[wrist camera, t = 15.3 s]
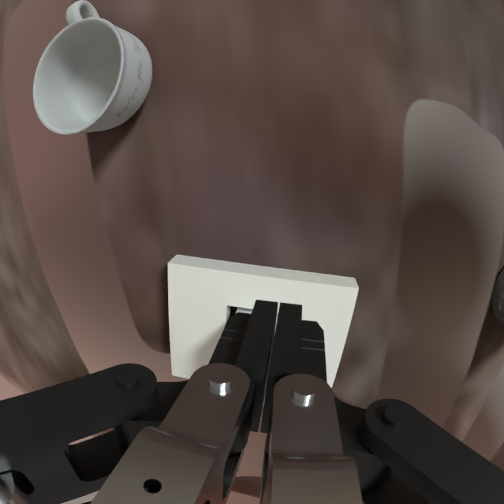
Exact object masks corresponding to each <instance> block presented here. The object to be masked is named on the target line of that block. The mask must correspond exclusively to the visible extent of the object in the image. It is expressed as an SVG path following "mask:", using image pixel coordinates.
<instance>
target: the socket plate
mask: <svg viewBox="0 0 504 504" xmlns="http://www.w3.org/2000/svg"><path fill="white" fill-rule="evenodd" d="M358 290H359V287H358V285H357V282H356V280H355V278H352V277H344V276H336V275H328V274H320V273H312V272H304V271H296V270H288V269H281V268H273V267H265V266H258V265H250V264H243V263H235V262H228V261H220V260H213V259H205V258H198V257H191V256H184V255H176V256H175V257H174V258H173V259H171V260H170V261H169V262H168V305H169V332H170V352H171V368H172V375H173V376H178V377H182V378H187V379H190V377H191V376H192V374H193V373H194V372H195V371H196V370H197V369H198V368H200V367H202V366H204V365H208V363H209V361H210V359H211V357H212V354H213V352H214V350H215V348H216V345H217V343H218V341H219V339H220V337H221V334H222V332H223V330H224V327H225V325H226V323H227V320H228V319H229V318H230V314H231V306H235V307H241V308H248V309H253V307H254V304H255V301H256V300H265V301H273V302H278V310H277V313H278V312H279V306H280V302H282V303H291V304H300V305H302V320H309V321H317V322H318V324H319V325H320V326H321V328H322V329H323V330H324V343H325V355H326V372H327V383H328V384H329V386H330V387H331V388H332V385H333V382H334V379H335V376H336V372H337V369H338V366H339V362H340V359H341V355H342V352H343V348H344V345H345V341H346V337H347V334H348V330H349V326H350V322H351V318H352V315H353V311H354V306H355V302H356V298H357V294H358Z"/></svg>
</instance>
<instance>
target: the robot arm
mask: <svg viewBox="0 0 504 504" xmlns="http://www.w3.org/2000/svg"><path fill="white" fill-rule="evenodd" d="M492 309H493V312H494V315H495V316H496V318H497V319H498V320H499V321H500V322H501V323H502V324H503V326H504V269H503V270H502V271H501V273H500V275H499V277H498V279H497V281H496V284H495V286H494V290H493V294H492ZM277 310H278V302H273V301H265V300H256V301H255V304H254V307H253V310H252V313H251V314H249V313H242V312H237V313H236V314H234V315H233V316H232V317H230V318H229V319H228V320H227V323H226V325H225V327H224V330H223V332H222V334H221V337H220V339H219V341H218V343H217V345H216V348H215V350H214V352H213V354H212V357H211V359H210V361H209V363H208V365H204V366H202V367H200V368H198V369H197V370H196V371H195V372H194V373H193V374H192V376H191V377H190V379H189V380H187V381H182V382H157V379H156V376H155V374H154V373H153V372H152V371H151V370H150V369H149V368H147V367H145V366H142V365H139V364H131V363H129V364H120V365H117V366H114V367H111V368H108V369H105V370H102V371H99V372H95V373H92V374H89V375H86V376H83V377H80V378H77V379H74V380H70V381H67V382H64V383H61V384H57V385H54V386H51V387H47V388H44V389H41V390H37V391H34V392H30V393H27V394H23V395H19V396H16V397H12V398H8V399H5V400H1V401H0V504H61V503H64V502H67V501H70V500H73V499H76V498H79V497H82V496H85V495H87V494H90V493H93V492H96V491H98V490H99V492H98V493H97V495H96V496H95V498H94V499H93V500H92V501H90V502H86V503H82V504H226V502H227V499H228V496H229V493H230V491H231V488H232V485H233V483H234V480H235V477H236V474H237V471H238V468H239V465H240V462H241V459H242V457H243V453H244V448H245V446H246V444H247V441H248V436H249V432H250V431H254V432H258V428H259V423H260V418H261V413H262V408H263V402H264V408H263V416H262V423H261V432H262V433H267V437H266V443H265V449H264V455H263V466H262V479H261V492H260V504H504V471H503V470H501V469H500V468H498V467H497V466H495V465H494V464H492V463H491V462H489V461H488V460H487V459H485V458H484V457H482V456H481V455H479V454H478V453H477V452H475V451H474V450H472V449H471V448H469V447H468V446H467V445H465V444H463V443H462V442H461V441H459V440H458V439H457V438H455V437H454V436H452V435H451V434H450V433H448V432H447V431H445V430H444V429H443V428H441V427H440V426H438V425H437V424H436V423H434V422H433V421H431V420H430V419H429V418H427V417H426V416H425V415H423V414H422V413H420V412H419V411H418V410H416V409H415V408H414V407H412V406H411V405H409V404H407V403H405V402H403V401H400V400H396V399H381V400H378V401H376V402H374V403H372V404H371V405H370V406H369V407H368V408H367V410H366V409H362V408H359V407H355V406H352V405H349V404H346V403H344V402H342V401H341V400H339V399H338V398H336V397H335V396H334V395H333V391H332V389H331V387H330V386H329V384H328V383H327V372H326V355H325V343H324V330H323V329H322V328H321V326H320V325H319V324H318V322H317V321H309V320H302V305H300V304H291V303H282V302H280V306H279V312H278V318H277ZM276 319H277V324H276ZM275 327H276V330H275ZM265 392H266V393H265ZM264 397H265V400H264ZM112 427H113V429H114V430H113V431H111V432H108V433H105V434H103V435H100V436H97V437H94V438H92V439H89V440H86V441H83V442H80V443H78V444H74V445H68V444H69V443H71V442H73V441H76V440H79V439H82V438H85V437H88V436H91V435H93V434H96V433H99V432H102V431H104V430H107V429H110V428H112Z"/></svg>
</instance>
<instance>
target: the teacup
mask: <svg viewBox="0 0 504 504" xmlns="http://www.w3.org/2000/svg"><path fill="white" fill-rule="evenodd" d="M80 14H81V15H82V16H83V18H84V19H82V17H81V15H80ZM66 20H67V23H68V26H67V27H65V28H64V29H63V30H62V31H60V32H59V33H58V34H57V35H56V37H55V38H54V39H53V40H52V41H51V42H50V43H49V45H48V46H47V47H46V49H45V51H44V53H43V55H42V56H41V59H40V61H39V64H38V66H37V70H36V73H35V77H34V84H33V100H34V106H35V109H36V113H37V115H38V117H39V119H40V121H41V122H42V123H43V125H44V126H45V127H46V128H47V129H49V130H50V131H52V132H54V133H56V134H60V135H74V134H78V133H87V132H98V131H104V130H108V129H112V128H114V127H117V126H119V125H121V124H122V123H124V122H125V121H127V120H128V119H129V118H131V117H132V116H133V115H134V114H135V113H136V111H137V110H138V109H139V108H140V107H141V105H142V104H143V102H144V100H145V98H146V96H147V94H148V91H149V88H150V85H151V80H152V62H151V58H150V55H149V53H148V51H147V49H146V47H145V46H144V44H143V43H142V42H141V41H140V40H139V39H138V38H136V37H135V36H134V35H132V34H130V33H129V32H127V31H125V30H123V29H121V28H119V27H117V26H114V25H113V24H112V23H110V22H109V21H107V20H104V19H101V18H99V15H98V13H97V11H96V10H95V8H94V7H93V6H92V5H91V4H90V3H89V2H88V1H84V0H81V1H77V2H75V3H74V4H72V5H71V6H70V7H69V8H68V9H67V12H66Z"/></svg>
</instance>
